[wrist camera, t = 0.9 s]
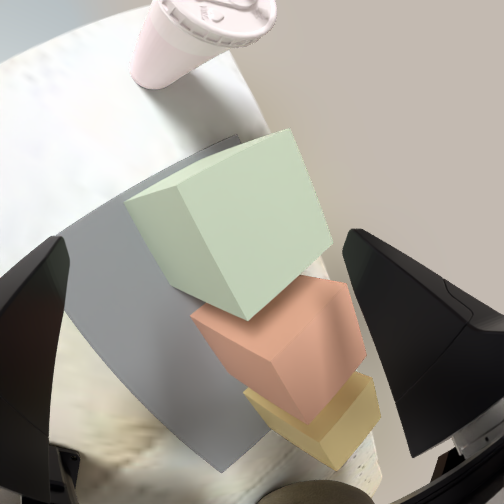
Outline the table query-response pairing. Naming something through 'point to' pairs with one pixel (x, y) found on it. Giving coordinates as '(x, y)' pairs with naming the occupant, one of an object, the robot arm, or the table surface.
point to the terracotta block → (290, 345)
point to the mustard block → (327, 421)
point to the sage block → (235, 224)
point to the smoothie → (194, 35)
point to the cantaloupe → (317, 494)
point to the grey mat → (155, 330)
